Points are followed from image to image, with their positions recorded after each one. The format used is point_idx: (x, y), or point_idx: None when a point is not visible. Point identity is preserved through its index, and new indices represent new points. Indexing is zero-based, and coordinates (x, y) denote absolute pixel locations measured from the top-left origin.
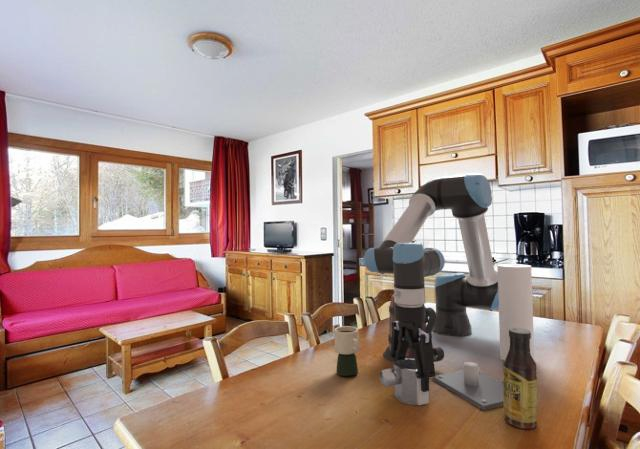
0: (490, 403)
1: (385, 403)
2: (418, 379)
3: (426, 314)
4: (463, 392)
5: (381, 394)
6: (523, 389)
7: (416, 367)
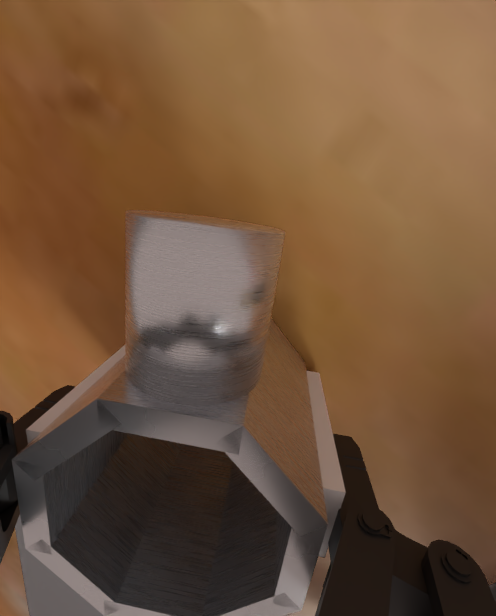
0: (20, 530)
1: (232, 217)
2: (38, 419)
3: None
4: None
5: (326, 267)
6: None
7: (227, 548)
